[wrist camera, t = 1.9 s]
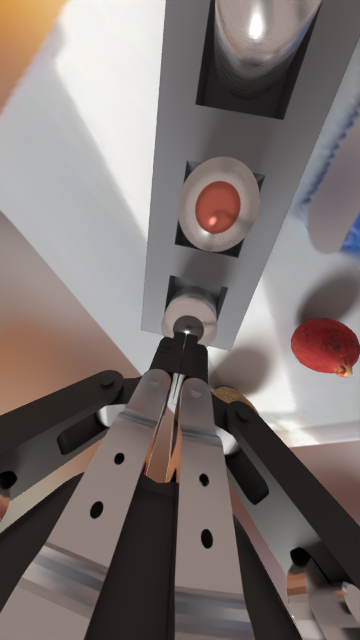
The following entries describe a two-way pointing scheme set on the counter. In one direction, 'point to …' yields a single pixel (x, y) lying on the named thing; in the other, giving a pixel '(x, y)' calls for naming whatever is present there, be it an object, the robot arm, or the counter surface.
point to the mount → (233, 152)
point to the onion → (326, 346)
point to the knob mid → (218, 204)
